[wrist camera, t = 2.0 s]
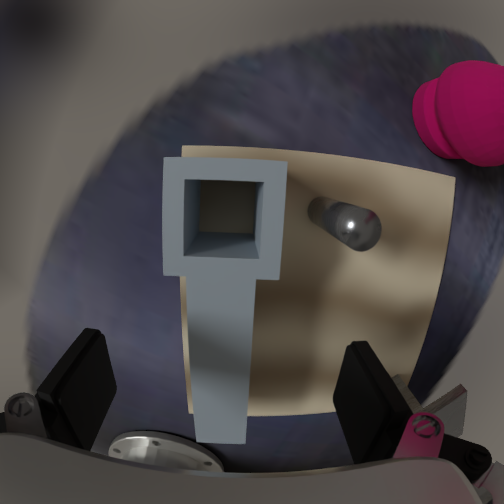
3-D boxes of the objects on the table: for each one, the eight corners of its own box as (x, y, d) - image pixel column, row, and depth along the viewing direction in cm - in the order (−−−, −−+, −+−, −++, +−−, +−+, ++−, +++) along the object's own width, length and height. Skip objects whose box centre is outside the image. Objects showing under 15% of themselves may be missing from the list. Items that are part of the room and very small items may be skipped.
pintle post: (328, 223, 19) (378, 252, 12) (302, 221, 19) (340, 250, 12) (331, 196, 19) (383, 210, 11) (304, 193, 19) (345, 206, 11)
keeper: (326, 362, 22) (364, 450, 13) (402, 323, 22) (467, 391, 12) (343, 402, 23) (377, 482, 14) (410, 367, 23) (462, 434, 14)
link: (256, 389, 21) (261, 443, 16) (190, 387, 21) (180, 440, 15) (272, 165, 17) (287, 161, 12) (186, 162, 17) (164, 157, 11)
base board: (395, 394, 24) (400, 401, 22) (190, 403, 22) (189, 413, 21) (445, 176, 19) (455, 177, 17) (185, 147, 17) (182, 145, 16)
